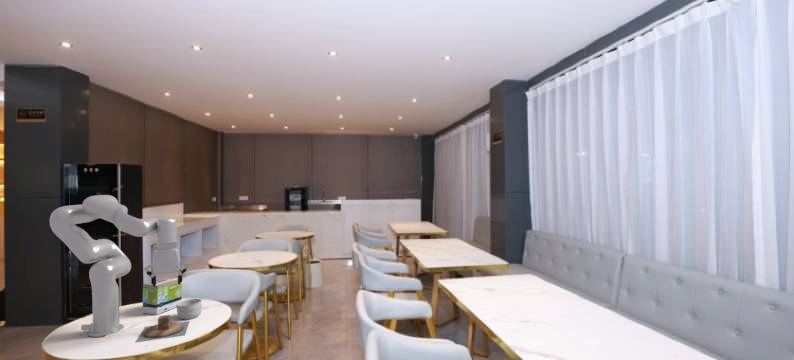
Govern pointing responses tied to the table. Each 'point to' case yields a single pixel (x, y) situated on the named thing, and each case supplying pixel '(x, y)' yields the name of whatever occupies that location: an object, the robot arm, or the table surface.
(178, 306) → the teacup
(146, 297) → the tea box
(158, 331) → the walnut lid
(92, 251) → the robot arm
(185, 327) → the slate mat
